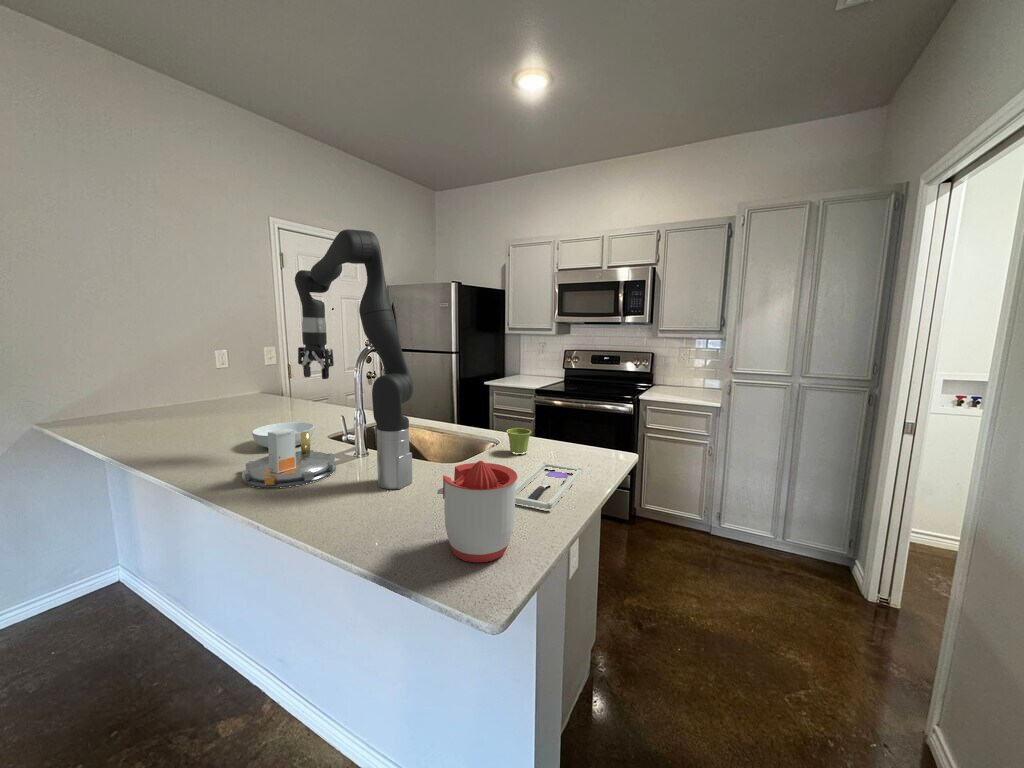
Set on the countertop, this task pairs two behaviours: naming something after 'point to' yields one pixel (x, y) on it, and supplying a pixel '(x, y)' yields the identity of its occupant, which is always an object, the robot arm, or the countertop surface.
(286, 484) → the plate
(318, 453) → the sprocket
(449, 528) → the citrus juicer
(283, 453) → the skincare box
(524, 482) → the utensil tray
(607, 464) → the countertop surface
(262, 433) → the serving bowl
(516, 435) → the plant pot
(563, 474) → the spatula
